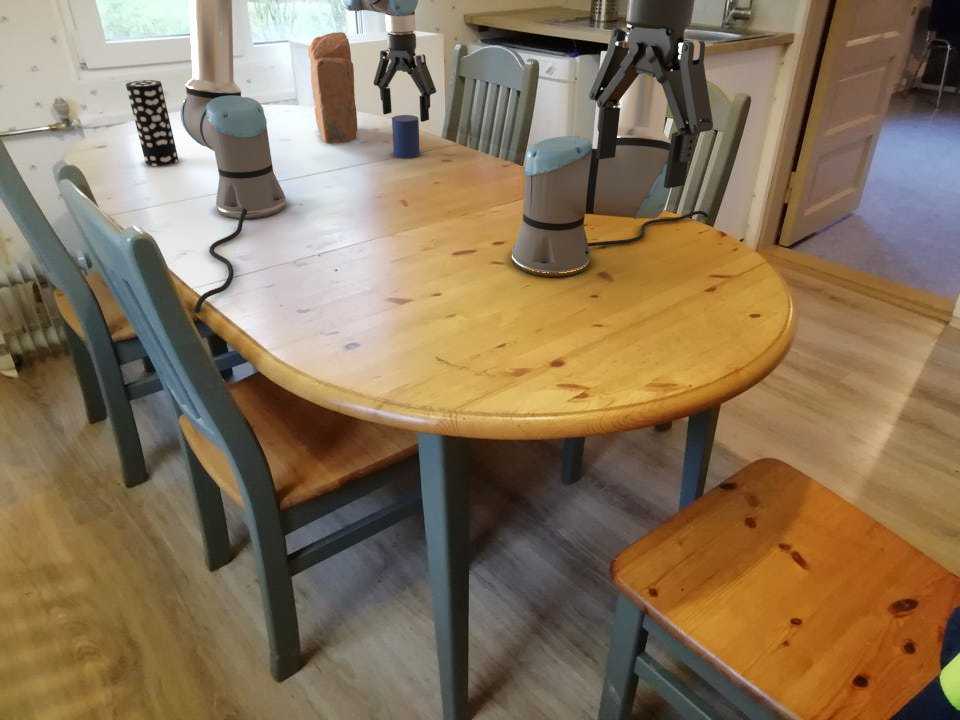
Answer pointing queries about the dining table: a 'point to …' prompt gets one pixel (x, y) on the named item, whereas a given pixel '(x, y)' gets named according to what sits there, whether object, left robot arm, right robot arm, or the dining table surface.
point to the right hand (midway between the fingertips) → (637, 171)
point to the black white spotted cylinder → (152, 122)
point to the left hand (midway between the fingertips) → (405, 117)
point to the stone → (333, 87)
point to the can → (406, 136)
